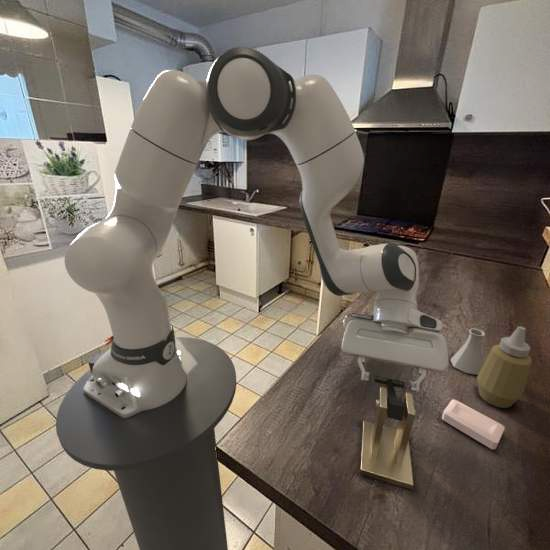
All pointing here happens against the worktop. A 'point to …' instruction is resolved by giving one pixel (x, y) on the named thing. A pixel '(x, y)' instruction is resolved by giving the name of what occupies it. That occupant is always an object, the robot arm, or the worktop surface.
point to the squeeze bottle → (505, 371)
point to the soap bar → (473, 423)
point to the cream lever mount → (388, 445)
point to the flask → (470, 353)
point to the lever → (392, 398)
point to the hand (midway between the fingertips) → (388, 386)
